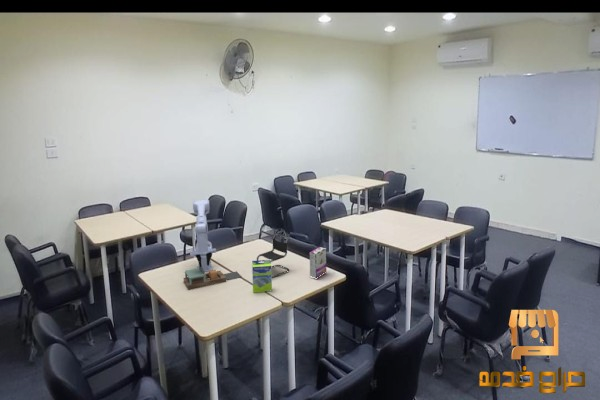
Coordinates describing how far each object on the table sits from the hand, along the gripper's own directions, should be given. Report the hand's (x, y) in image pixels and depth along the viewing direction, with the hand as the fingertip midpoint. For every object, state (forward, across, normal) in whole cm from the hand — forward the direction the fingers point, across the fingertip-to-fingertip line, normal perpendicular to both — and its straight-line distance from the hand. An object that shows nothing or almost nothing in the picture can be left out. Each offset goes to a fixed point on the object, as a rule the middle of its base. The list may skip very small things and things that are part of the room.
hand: (204, 265), depth 227 cm
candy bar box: (+10, +62, -25) cm, 67 cm away
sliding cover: (+7, -6, 0) cm, 9 cm away
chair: (+10, +41, -7) cm, 43 cm away
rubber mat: (+10, +16, 0) cm, 19 cm away
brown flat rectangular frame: (+10, 0, 0) cm, 10 cm away
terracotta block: (+10, +5, 0) cm, 11 cm away
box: (+10, +25, -27) cm, 38 cm away
